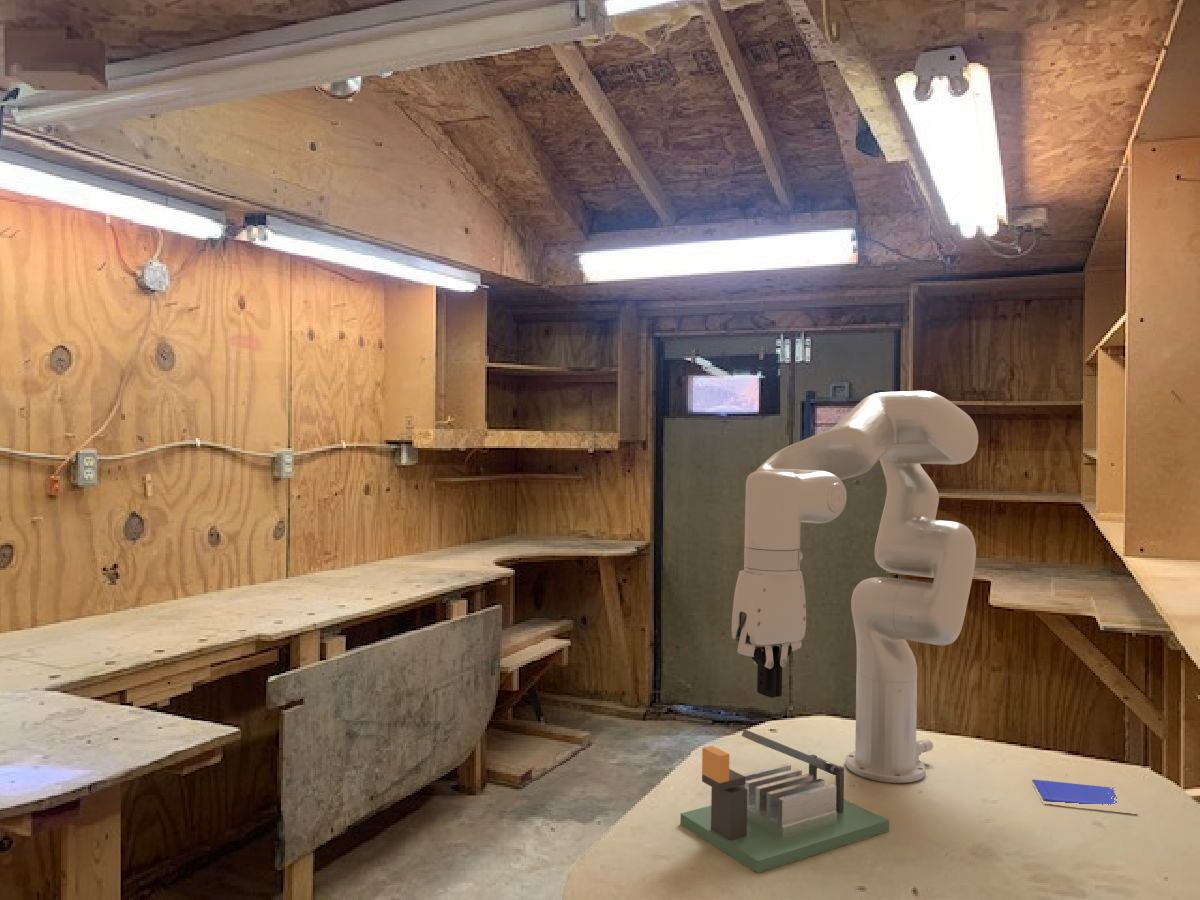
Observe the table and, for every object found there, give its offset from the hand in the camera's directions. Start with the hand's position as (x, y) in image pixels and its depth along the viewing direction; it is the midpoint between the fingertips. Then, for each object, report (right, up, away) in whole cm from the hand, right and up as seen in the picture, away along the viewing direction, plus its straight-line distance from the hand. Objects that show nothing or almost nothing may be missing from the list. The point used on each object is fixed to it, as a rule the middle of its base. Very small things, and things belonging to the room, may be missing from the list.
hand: (769, 694), depth 118 cm
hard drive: (+50, -21, +13) cm, 56 cm away
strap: (+3, -9, +2) cm, 10 cm away
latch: (-7, -11, -4) cm, 13 cm away
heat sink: (+2, -18, +2) cm, 18 cm away
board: (+2, -19, +2) cm, 19 cm away
